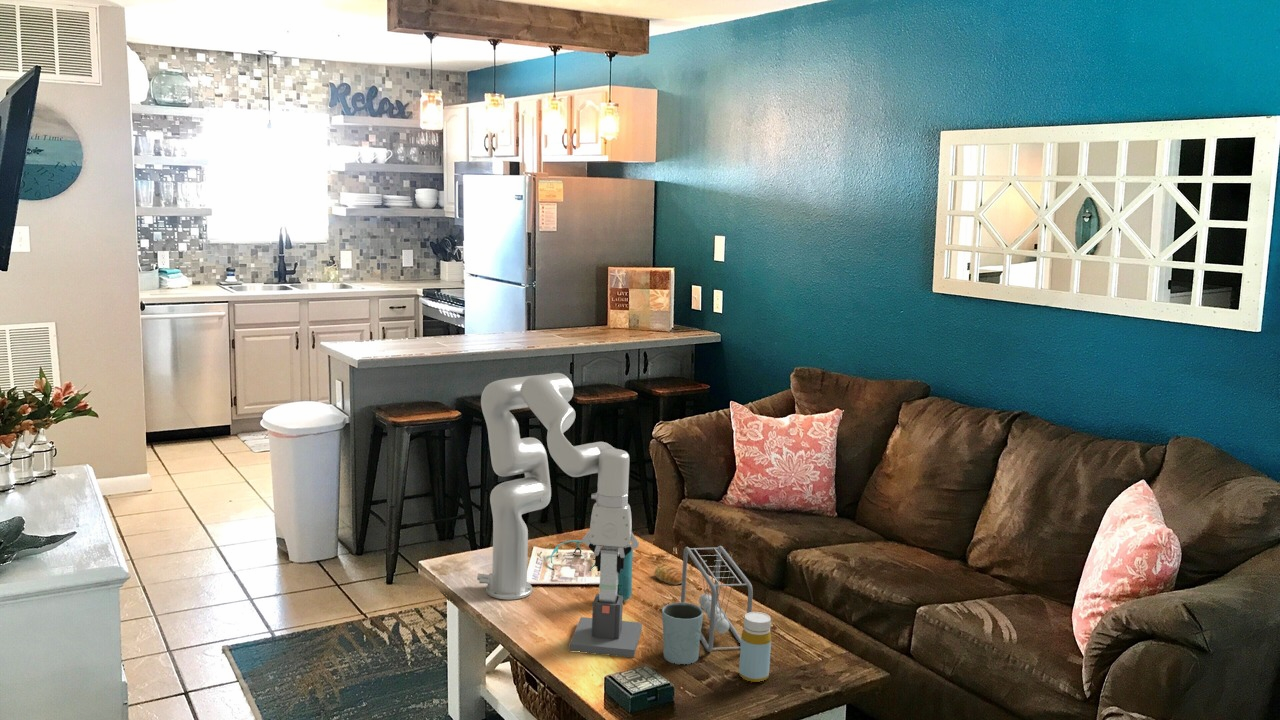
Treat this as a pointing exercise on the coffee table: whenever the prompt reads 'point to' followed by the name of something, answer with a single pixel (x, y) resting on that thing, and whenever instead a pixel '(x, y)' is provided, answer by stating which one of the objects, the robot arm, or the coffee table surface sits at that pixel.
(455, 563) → the coffee table surface
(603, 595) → the stand column
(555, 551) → the teal thin curved band
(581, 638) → the stand base
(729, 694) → the coffee table surface
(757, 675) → the bottle
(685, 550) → the newton's cradle
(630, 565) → the beverage bottle
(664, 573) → the pastry
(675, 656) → the grey cup
